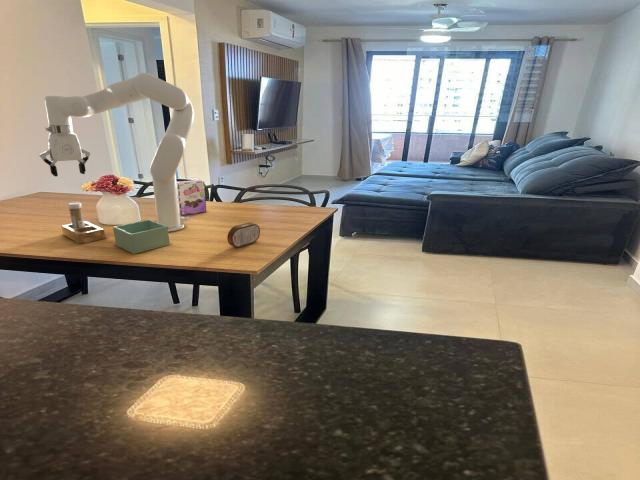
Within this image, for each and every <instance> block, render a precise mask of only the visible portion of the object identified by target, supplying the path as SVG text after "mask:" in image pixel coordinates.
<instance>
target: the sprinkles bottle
mask: <svg viewBox="0 0 640 480" xmlns="http://www.w3.org/2000/svg"><path fill="white" fill-rule="evenodd" d="M82 206H83V205H82V203H81V202H77V201H76V202H69V203H67V207H68V210H69V214H70V221H71V224H72V226H73V229H74V228H79V227H84V226H85V224H84V221H85V220H84V219H85V218H84V215H83V210H82V208H83V207H82Z"/></svg>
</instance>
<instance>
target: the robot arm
mask: <svg viewBox="0 0 640 480" xmlns="http://www.w3.org/2000/svg"><path fill="white" fill-rule="evenodd" d="M146 99H150V100H151V101H153V102H155V103H158V104H161V105H163V106H165V107H168V108H170V109H171V110H172V114H171V115H172V116H171V117H170V120H169V124H168V126H167V128H166V131H165V133H164V134H163V136H162V138H161V139H160V141H159V143H158V147H157V149H156V152H155V154H154V156H153V159H152V161H151V162H150V166H149V173H150V176H151V178H152V187H153V198H154V205H155V215H156V222H157V223H160V224H163V225H165V226H168V233H169V232H176V231H180V230H183V229H184V228H185V223H184V222H188V221H190V220H191V217H190V215H187V216H181V215H179V205H178V194H177V183H176V182H177V170H178V168H179V166H180V164H181V160H182V158H183V156H184V153H185V150H186V143H187V140H188V138H189V135H190V132H191V129H192V127H193V123H194V119H195V112H194V107H193V104H192V102H191V100H190V98H189V97H188V95H187V92H185V90H183V88H181V87H179V86H176V85H174V84H173V83H170V82H167V81H165V80H163V79H161V78H159V77H157V76H155V75H153V74H151V73H148V72H140V73H138V74H137V75H136V76H133V77H130V78H128V79H124V80H121V81H117V82H114V83H111V84H109V85H107V86H106V87H105V88H103V89H101V90H98V91H96V92H92V93H90V94H86V95H83V96H79V95H76V96H61V95H46V96H45V97H44V105H45V111H46V116H47V123H48V126H45V127H44V130H45V131H46V132H49V133H48V136H47V137H48V149H46V151H43V152H42V153H39V155H38V156H39V157H40V159H41V160H42V161H43V162H44V163H45V164H47V165H48V166H49V169H50V174H51V175H52V176H53V177H59V175H58V174H59V173H58V169H57V165H56V164H57V162H66V161H67V162H68V161H77V162H78V169H79V173H80V174H82V175H85V174H86V171H87V169H86V163H87V162H88V160H89V159H90V158H89V157H90V155H91V152H90V151H87V150H85V149H82V148H81V144H80V141H79V137H78V134H77V133H74V127H73V120H72V117H76V118H87V117H92V116H94V115H97V114H101V113H104V112H107V111H110V110H113V109H119V108H122V107H125V106H128V105H131V104H134V103H137V102H140V101H143V100H146ZM83 154H84V156H83ZM47 156H49V158H50V160H49V159H48V158H47Z"/></svg>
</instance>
